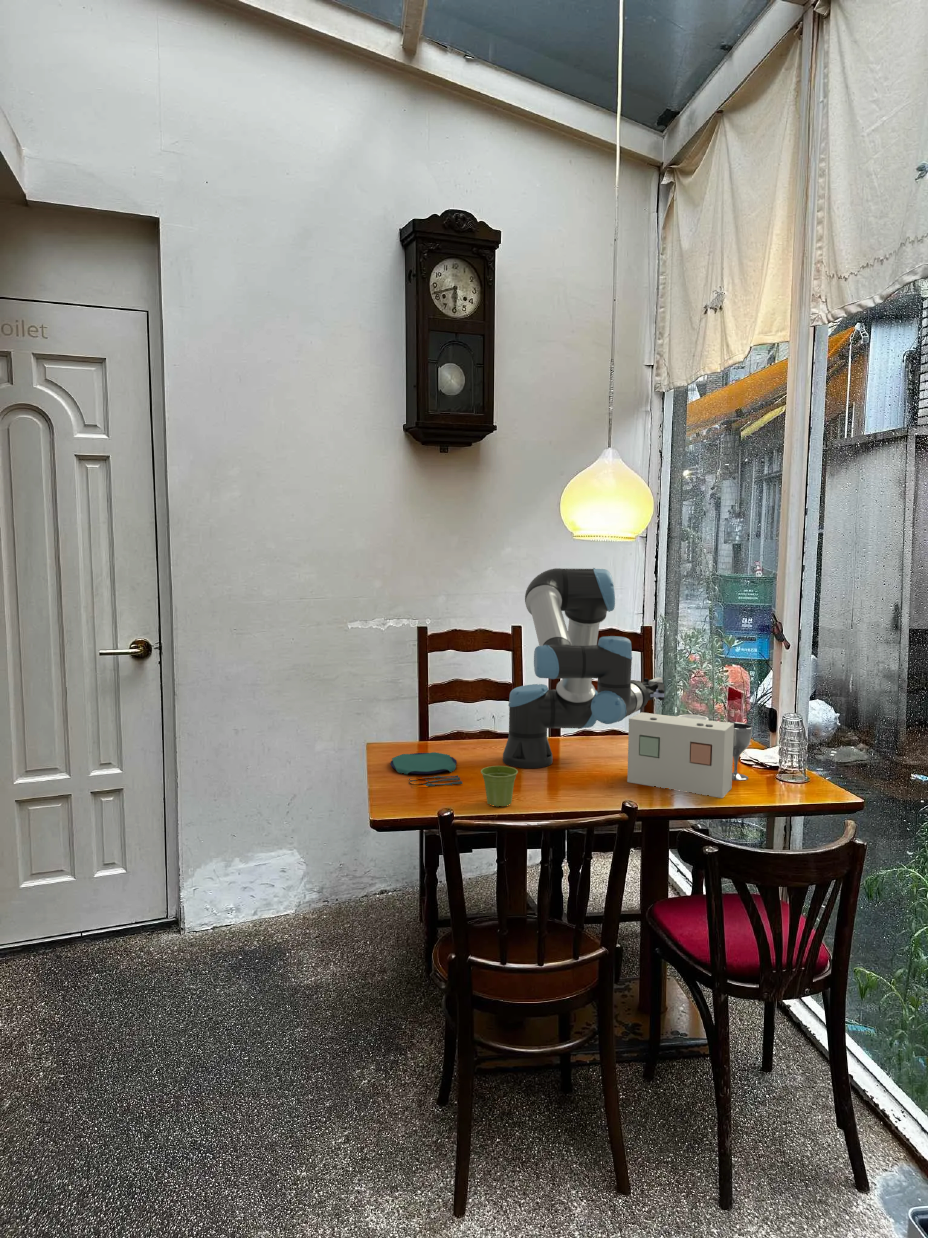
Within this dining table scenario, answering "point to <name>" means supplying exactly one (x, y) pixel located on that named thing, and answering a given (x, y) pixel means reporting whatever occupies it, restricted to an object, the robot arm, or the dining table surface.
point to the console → (681, 754)
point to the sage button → (649, 745)
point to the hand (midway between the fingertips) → (659, 682)
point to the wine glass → (740, 745)
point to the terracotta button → (701, 753)
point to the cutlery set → (426, 765)
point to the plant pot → (499, 784)
